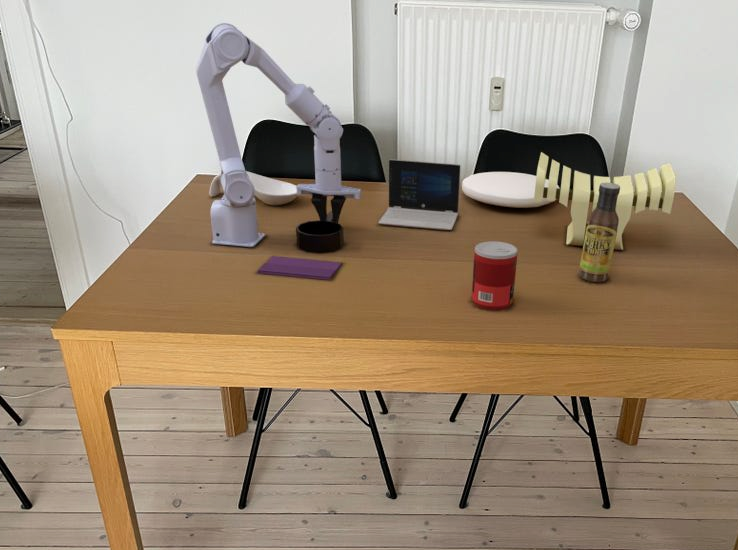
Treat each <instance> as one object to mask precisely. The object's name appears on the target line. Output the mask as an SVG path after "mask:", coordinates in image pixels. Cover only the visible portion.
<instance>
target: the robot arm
mask: <svg viewBox="0 0 738 550" xmlns="http://www.w3.org/2000/svg"><path fill="white" fill-rule="evenodd" d="M240 62H242V63H243V65H246V66H250V67H254V68H257V69H258V70H259V71H260V72H261V73H262V74H263V75H264V76H265V77H266V78H267V79H268V80H269V81H270V82H272V83H273V85H275V87H277V88H278V90H280V91H281V92H282V93H283V94H284V101H285V105H286V106H287V107H288V108H289V109H290V110H291V111H292V113H294V114H295V115H296V116H297V117H298V118H299V119H300V120H301V121H302V122H303V123H304V124H305V125H306V127H307V126H308V127H309V128H310V130H311V132H312V133H314V135H313V139H314V140H313V142H314V143H313V144H314V145H313V154H314V155H313V156H314V175H315V176H314V177H315V183H298V184H297V185H296V189H297V194H298V196H300V195H311V198H310V202H311V204H312V205H313V207H314V209H315V211H316V213H317V215H318V218H319V220H323V219H324V218H325V217H326V216H327V215H328V212H327V211H328V209H327V205H328V197H332V198H331V199H330V207H331V211H332V215H333V220H332V221H333V222H336V223H339V222H340V216H341V212H342V209H343V207H344V204H345V202H346V200H347V199H354V200H360V199H361V198H362V189H361V188H357V187H356V188H355V187H350V186H345V185H342V164H341V163H342V160H341V159H342V158H341V146H340V143H341V141H340V139H341V138H342V136H343V133H344V128H343V127H342V122H341V121H340V119H339V118H338V117H337V116H335V114H333V113H332V111H331V107H330V106H329V105H328V104H324V103H323V101H321V100H320V99H319V98H318V97H317V96H316V95H315V94H314V93H315V90H314V89H313V87H312V86H310V85H309V86H307V85H306V84H304V83H295V82H294V81H293V80H292V79H291V77H290V76H289V75H287V73H286V72H285V71H284V70H283V69H282V68H281V67H280V65H278V64H277V62H275V60H274V59H273V58H272V57H271V56H270V55H269V53H268V52H267V51H266V50H264V49H263V48H262V47H261V46H260V45H258V44H257V43H256V42H255V41H253V40H252V39H251V38H249V37H248V36H247V35H245V34H244V33H243V31H241V30H240V29H238V28H237V27H236V26H235V25H233V24H231V23H227V22H222V23H219V24H217V25H215V26H214V27H213V28H212V29H211V30H210V32H209V33H208V34H207V35H206V36H205V39H204V44H203V47H202V49H201V53H200V56H199V59H198V62H197V65H196V68H195V74H196V78H197V81H198V85H199V89H200V92H201V96H202V100H203V105H204V108H205V111H206V116H207V119H208V124H209V127H210V130H211V131H210V132H211V134H212V138H213V143H214V146H215V149H216V153H217V157H218V161H219V166H220V174H221V175H220V187H221V188H222V191H223V195H222V197H221V198H220V199H215V200H213V202H212V204H211V206H210V223H211V224H210V225H211V231H212V232H211V233H212V239H213V240H212V241H211V243H212V244H213V245H221V246H222V245H223V246H233V247H243V248H254V247H255V246H256V245H257V244H258V243H260V241H262V240H263V239H264V238H265V237H266V233H262V232H259V224H258V214H257V213H258V212H257V202H256V197H255V189H254V185H253V184H252V182H251V181H250V179H249V176H248V174H247V172H248V171H247V170H246V168H245V164H244V162H243V159H242V155H241V151H240V146H239V143H238V138H237V135H236V131H235V127H234V122H233V118H232V113H231V111H230V106H229V101H228V99H227V93H226V90H225V86H224V83H223V82H224V81H223V80H224V78H225V77H226V75H227V73H229V71H230V70H231V68H233V67H234V66H236V65H237V64H238V63H240ZM246 171H247V172H246Z"/></svg>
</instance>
